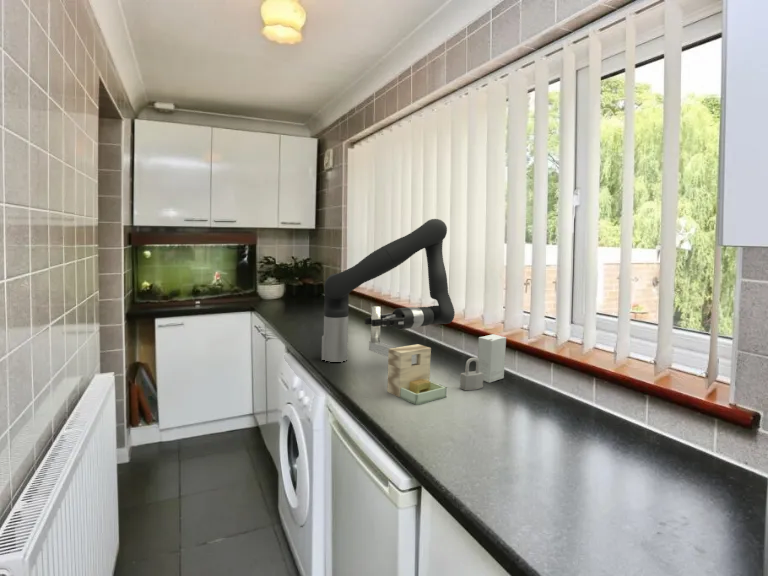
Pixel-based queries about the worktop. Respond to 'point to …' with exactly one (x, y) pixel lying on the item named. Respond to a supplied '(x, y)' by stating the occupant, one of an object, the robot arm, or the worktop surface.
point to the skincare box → (491, 357)
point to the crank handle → (375, 337)
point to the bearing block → (407, 367)
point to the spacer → (420, 386)
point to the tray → (424, 394)
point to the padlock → (471, 377)
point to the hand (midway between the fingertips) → (368, 322)
